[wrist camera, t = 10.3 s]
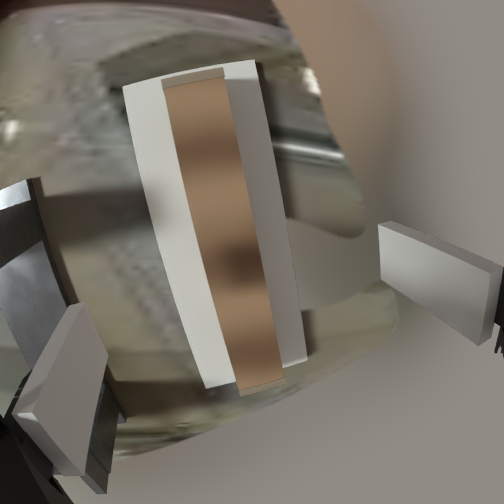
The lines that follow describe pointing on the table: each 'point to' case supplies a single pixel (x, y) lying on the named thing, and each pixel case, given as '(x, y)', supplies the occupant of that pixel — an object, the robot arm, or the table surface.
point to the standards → (45, 313)
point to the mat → (181, 226)
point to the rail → (224, 224)
